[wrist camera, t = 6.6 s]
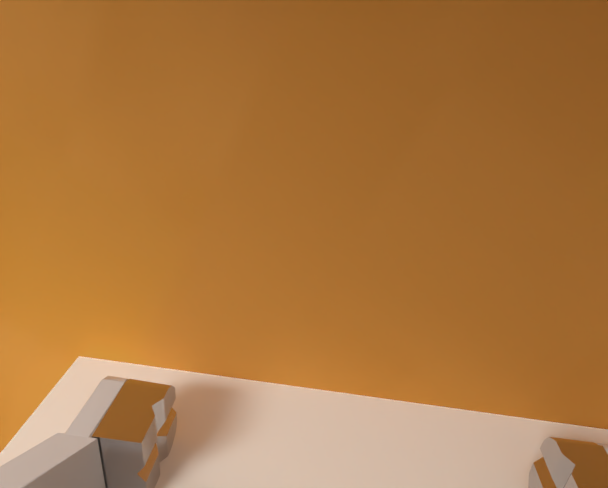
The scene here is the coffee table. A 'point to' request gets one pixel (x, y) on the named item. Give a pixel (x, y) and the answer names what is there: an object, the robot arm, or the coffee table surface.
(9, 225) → the coffee table surface
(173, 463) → the cream floor plank
